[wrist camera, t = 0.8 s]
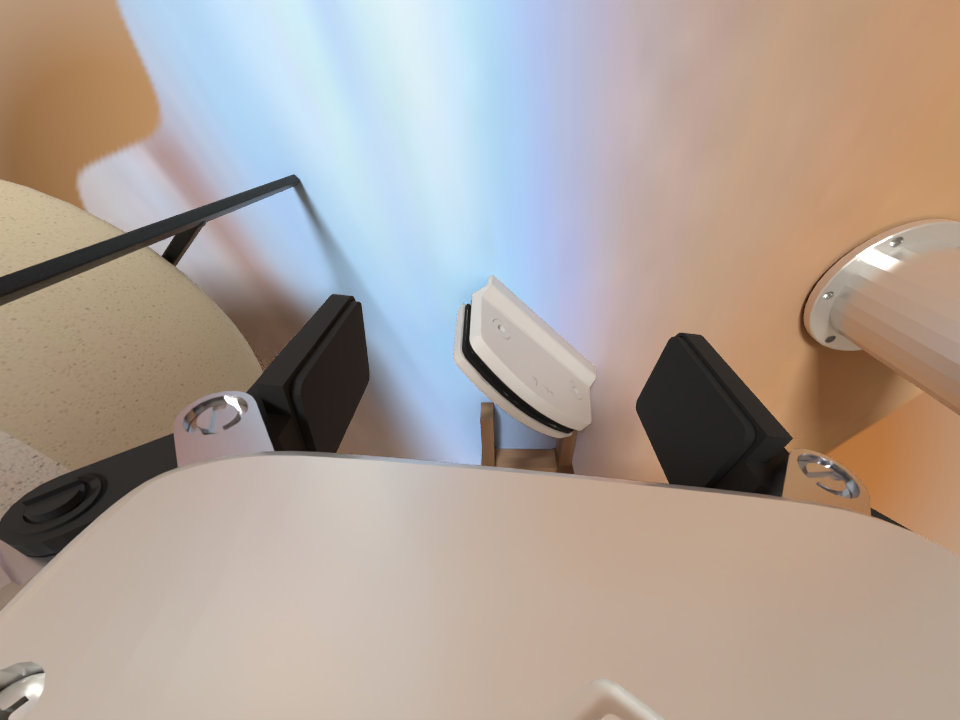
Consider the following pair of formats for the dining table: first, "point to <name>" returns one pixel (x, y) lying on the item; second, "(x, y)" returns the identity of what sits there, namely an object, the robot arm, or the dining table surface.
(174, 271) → the planter
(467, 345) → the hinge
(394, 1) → the dining table surface
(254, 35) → the dining table surface
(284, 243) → the dining table surface
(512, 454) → the brown wooden frame
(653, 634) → the robot arm
